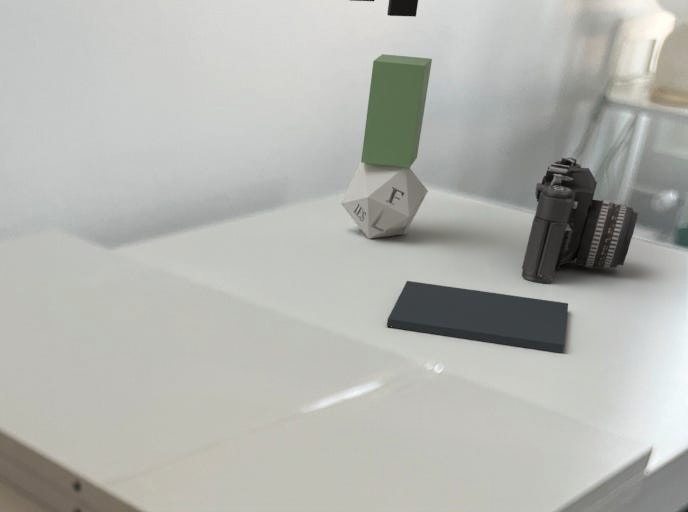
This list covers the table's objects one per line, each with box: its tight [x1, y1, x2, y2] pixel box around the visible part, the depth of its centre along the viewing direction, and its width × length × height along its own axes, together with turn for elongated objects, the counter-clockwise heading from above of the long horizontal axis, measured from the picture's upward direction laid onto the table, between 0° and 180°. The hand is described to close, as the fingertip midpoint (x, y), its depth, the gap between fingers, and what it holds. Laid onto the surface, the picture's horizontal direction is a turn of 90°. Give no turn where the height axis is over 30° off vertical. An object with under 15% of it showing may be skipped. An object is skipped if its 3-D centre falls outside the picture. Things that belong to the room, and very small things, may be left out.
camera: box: [521, 157, 639, 284], centre depth 111 cm, size 14×11×10 cm
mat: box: [386, 280, 569, 354], centre depth 99 cm, size 16×12×1 cm
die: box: [340, 161, 429, 240], centre depth 119 cm, size 8×9×10 cm
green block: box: [360, 53, 433, 169], centre depth 113 cm, size 6×6×10 cm
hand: (380, 8), depth 106 cm, fingers open, 13 cm apart
